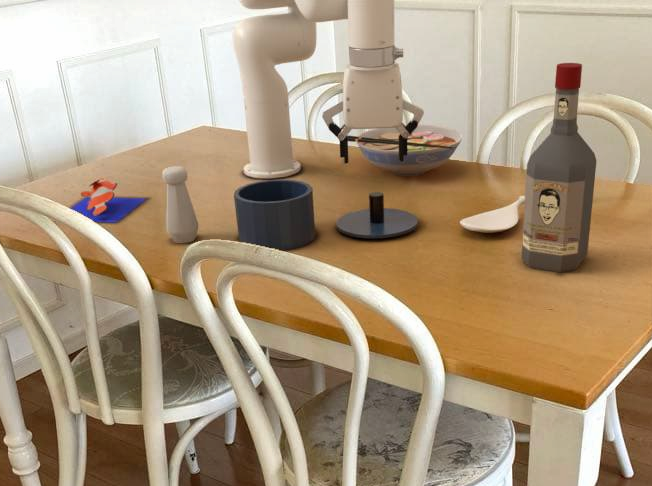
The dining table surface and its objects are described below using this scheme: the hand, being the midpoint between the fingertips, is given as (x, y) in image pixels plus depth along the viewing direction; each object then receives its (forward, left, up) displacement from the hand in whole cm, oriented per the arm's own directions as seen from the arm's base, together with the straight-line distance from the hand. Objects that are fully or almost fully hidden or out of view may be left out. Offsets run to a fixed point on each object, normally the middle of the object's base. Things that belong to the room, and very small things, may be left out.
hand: (373, 160), depth 154 cm
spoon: (-2, +27, -12) cm, 30 cm away
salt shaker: (+2, -35, -12) cm, 37 cm away
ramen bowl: (-35, +8, -12) cm, 38 cm away
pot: (+3, -18, -12) cm, 22 cm away
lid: (+1, 0, -12) cm, 11 cm away
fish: (-18, -55, -12) cm, 59 cm away
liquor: (+20, +28, -12) cm, 37 cm away
